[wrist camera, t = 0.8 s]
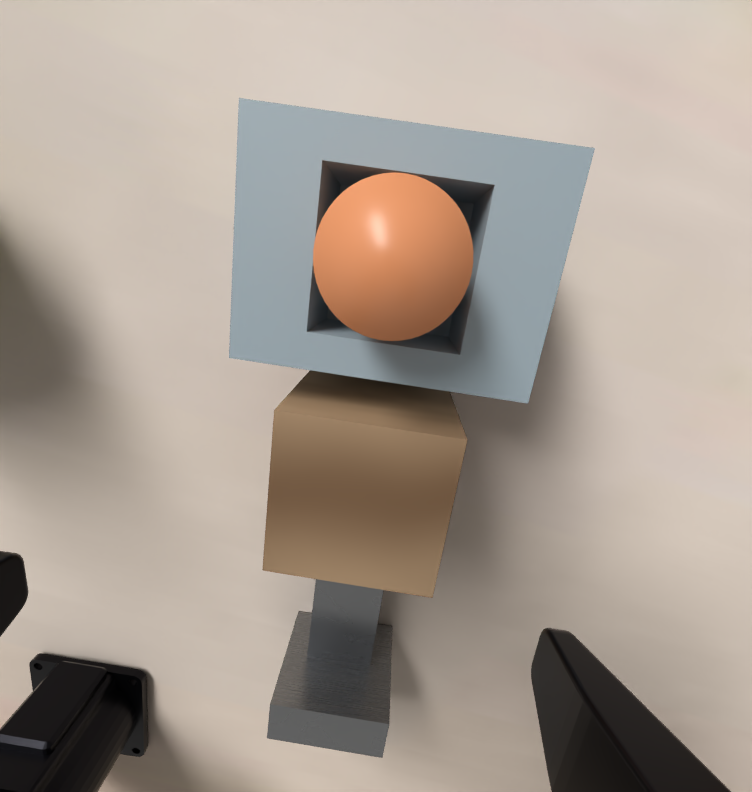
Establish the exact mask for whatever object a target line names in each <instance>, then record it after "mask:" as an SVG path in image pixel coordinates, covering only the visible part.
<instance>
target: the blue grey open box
mask: <svg viewBox="0 0 752 792" xmlns="http://www.w3.org/2000/svg"><path fill="white" fill-rule="evenodd" d="M594 150H595V148H590V147H583V146H576V145H569V144H561V143H554V142H547V141H540V140H533V139H526V138H519V137H512V136H505V135H498V134H491V133H484V132H476V131H469V130H462V129H455V128H448V127H441V126H434V125H427V124H420V123H413V122H406V121H399V120H391V119H384V118H377V117H370V116H363V115H356V114H349V113H342V112H335V111H328V110H321V109H314V108H306V107H299V106H292V105H285V104H278V103H271V102H264V101H257V100H250V99H243V98H239V110H238V137H237V163H236V189H235V216H234V242H233V268H232V295H231V321H230V347H229V358H233V359H240V360H246V361H253V362H259V363H266V364H272V365H279V366H286V367H292V368H299V369H305V370H312V371H318V372H325V373H331V374H338V375H344V376H351V377H357V378H364V379H371V380H377V381H384V382H390V383H397V384H403V385H410V386H416V387H423V388H429V389H436V390H443V391H449V392H456V393H462V394H469V395H475V396H482V397H488V398H495V399H501V400H508V401H514V402H521V403H528V402H529V398H530V394H531V391H532V387H533V383H534V379H535V375H536V371H537V368H538V364H539V360H540V356H541V352H542V348H543V345H544V341H545V337H546V333H547V329H548V326H549V322H550V318H551V314H552V310H553V306H554V303H555V299H556V295H557V291H558V287H559V283H560V280H561V276H562V272H563V268H564V264H565V261H566V257H567V253H568V249H569V245H570V241H571V238H572V234H573V230H574V226H575V222H576V218H577V215H578V211H579V207H580V203H581V199H582V196H583V192H584V188H585V184H586V180H587V176H588V173H589V169H590V165H591V161H592V157H593V153H594ZM382 173H406V174H411V175H415V176H418V177H421V178H424V179H426V180H428V181H430V182H432V183H434V184H435V185H437V186H438V187H440V188H441V189H442V190H443V191H445V192H446V193H447V194H448V195H449V196H450V197H451V198H452V199H453V200H454V202H455V203H456V204H457V206H458V207H459V208H460V210H461V212H462V214H463V215H464V217H465V219H466V222H467V224H468V227H469V229H470V233H471V237H472V243H473V268H472V274H471V278H470V282H469V285H468V288H467V290H466V292H465V295H464V296H463V298H462V300H461V302H460V304H459V305H458V306H457V308H456V309H455V310H454V312H453V313H452V314H451V315H450V316H449V317H448V318H447V319H446V320H445V321H444V322H443V323H441V324H440V325H439V326H438V327H436V328H434V329H433V330H431V331H430V332H428V333H425V334H423V335H421V336H418V337H415V338H412V339H407V340H402V341H383V340H377V339H373V338H369V337H366V336H364V335H361V334H359V333H357V332H355V331H353V330H352V329H350V328H349V327H347V326H346V325H345V324H343V323H342V322H341V321H340V320H339V319H338V318H337V317H336V316H335V315H334V314H333V313H332V311H331V310H330V309H329V307H328V306H327V304H326V303H325V301H324V299H323V297H322V295H321V293H320V291H319V288H318V285H317V283H316V278H315V274H314V266H313V248H314V242H315V237H316V234H317V230H318V227H319V225H320V222H321V220H322V218H323V216H324V214H325V213H326V211H327V209H328V208H329V207H330V205H331V204H332V203H333V201H334V200H335V199H336V198H337V197H338V196H339V195H340V194H341V193H342V192H343V191H345V190H346V189H347V188H349V187H350V186H351V185H353V184H355V183H357V182H358V181H360V180H362V179H365V178H367V177H370V176H373V175H378V174H382Z"/></svg>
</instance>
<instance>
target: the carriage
mask: <svg viewBox="0 0 752 792" xmlns="http://www.w3.org/2000/svg"><path fill="white" fill-rule="evenodd" d="M466 445H467V437H466V435H465V432H464V429H463V426H462V424H461V421H460V418H459V416H458V413H457V410H456V407H455V405H454V402H453V399H452V397H451V394H450V392H449V391H443V390H436V389H429V388H423V387H416V386H410V385H403V384H397V383H390V382H384V381H377V380H371V379H364V378H357V377H351V376H344V375H338V374H331V373H325V372H318V371H312V370H310V371H309V372H308V373H307V375H306V376H305V377H304V378H303V379H302V380H301V381H300V382H299V383H298V384H297V386H296V387H295V388H294V389H293V390H292V391H291V392H290V393H289V394H288V395H287V397H286V398H285V399H284V400H283V401H282V402H281V403H280V404H279V405H278V407H277V408H276V409H275V410H274V421H273V434H272V448H271V462H270V475H269V489H268V503H267V516H266V530H265V544H264V557H263V570H264V571H270V572H276V573H282V574H288V575H294V576H301V577H307V578H313V579H319V580H325V581H331V582H338V583H344V584H350V585H356V586H362V587H368V588H375V589H381V590H387V591H393V592H399V593H405V594H412V595H418V596H424V597H430V598H432V597H433V593H434V588H435V584H436V579H437V575H438V570H439V566H440V561H441V557H442V552H443V548H444V543H445V539H446V534H447V530H448V525H449V521H450V516H451V512H452V507H453V503H454V498H455V494H456V489H457V485H458V480H459V476H460V471H461V467H462V462H463V458H464V453H465V449H466Z"/></svg>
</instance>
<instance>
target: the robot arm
mask: <svg viewBox="0 0 752 792" xmlns="http://www.w3.org/2000/svg"><path fill="white" fill-rule="evenodd" d="M27 597H28V586H27V579H26V573H25V566H24V561H23V558H22V557H21V556H20V555H19V554H17V553H11V552H3V551H0V636H1V635H2V634H3V633H4V631H5V630H6V629H7V627H8V626H9V625H10V623H11V622H12V621H13V620H14V618H15V617H16V616H17V614H18V613H19V612H20V610H21V609H22V608H23V606H24V604H25V602H26V600H27ZM30 673H31V680H32V687H33V692H32V693H31V694H30V695H29V696H28V698H27V699H26V700H25V701H24V702H23V703H22V704H21V706H20V707H19V708H18V709H17V710H16V711H15V712H14V714H13V715H12V716H11V717H10V718H9V719H8V720H7V722H6V723H5V724H4V725H3V726H2V727H1V728H0V792H98V790H99V789H100V787H101V785H102V784H103V782H104V780H105V778H106V777H107V775H108V773H109V772H110V770H111V768H112V766H113V765H114V763H115V761H116V760H117V758H118V756H119V754H124V755H130V756H136V757H140V756H142V755H143V754H144V753H145V751H146V749H147V747H148V724H147V689H146V675H145V674H144V672H142V671H141V670H138V669H132V668H126V667H120V666H114V665H108V664H102V663H96V662H90V661H84V660H78V659H72V658H66V657H60V656H54V655H48V654H37V655H36V656H35V657H34V659H33V660H32V661H31V662H30ZM531 678H532V685H533V691H534V696H535V702H536V708H537V713H538V719H539V725H540V730H541V736H542V742H543V748H544V753H545V759H546V765H547V770H548V776H549V781H550V786H551V791H552V792H731V791H730V790H729V789H728V788H727V787H726V786H725V785H724V784H723V783H722V782H721V781H720V780H719V779H718V778H717V777H716V776H715V775H714V774H713V773H712V772H711V771H710V770H709V769H708V768H707V767H706V766H705V765H704V764H703V763H702V762H701V761H700V760H699V759H698V758H697V757H696V756H695V755H694V754H693V753H692V752H691V751H690V750H689V749H688V748H687V747H686V746H685V745H684V744H683V743H682V742H681V741H680V740H679V739H678V738H677V737H676V736H675V735H674V734H673V733H672V732H671V731H670V730H669V729H668V728H667V727H666V726H665V725H664V724H663V723H662V722H661V721H660V720H658V719H657V718H656V717H655V716H654V715H653V714H652V713H651V712H650V711H649V710H648V709H647V708H646V707H645V706H644V705H643V704H642V703H641V702H640V701H639V700H638V699H637V698H636V697H635V696H634V695H633V694H632V693H631V692H630V691H629V690H628V689H627V688H626V687H625V686H624V685H623V684H622V683H621V682H620V681H619V680H618V679H617V678H616V677H615V676H614V675H613V674H612V673H611V672H610V671H609V670H608V669H607V668H606V667H605V666H604V665H603V664H602V663H601V662H600V661H599V660H598V659H597V658H596V657H595V656H594V655H593V654H592V653H591V652H590V651H589V650H588V649H587V648H586V647H585V646H584V645H583V644H582V643H581V642H580V641H579V640H578V639H577V638H576V637H575V636H574V635H573V634H572V633H570V632H568V631H566V630H559V629H552V628H546V629H544V630H543V631H542V633H541V635H540V638H539V642H538V645H537V648H536V652H535V655H534V659H533V662H532V668H531Z"/></svg>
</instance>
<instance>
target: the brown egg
mask: <svg viewBox="0 0 752 792" xmlns="http://www.w3.org/2000/svg"><path fill="white" fill-rule="evenodd" d="M313 266H314V274H315V278H316V283H317V285H318V288H319V291H320V293H321V295H322V297H323V299H324V301H325V303H326V304H327V306H328V307H329V309H330V310H331V311H332V313H333V314H334V315H335V316H336V317H337V318H338V319H339V320H340V321H341V322H342V323H343V324H345V325H346V326H347V327H349V328H350V329H352V330H353V331H355V332H357V333H359V334H361V335H364V336H366V337H369V338H373V339H377V340H383V341H402V340H407V339H412V338H415V337H418V336H421V335H423V334H425V333H428V332H430V331H431V330H433V329H434V328H436V327H438V326H439V325H440V324H441V323H443V322H444V321H445V320H446V319H447V318H448V317H449V316H450V315H451V314H452V313H453V312H454V310H455V309H456V308H457V306H458V305H459V304H460V302H461V300H462V298H463V296H464V295H465V292H466V290H467V288H468V285H469V282H470V278H471V274H472V268H473V243H472V237H471V233H470V229H469V227H468V224H467V222H466V219H465V217H464V215H463V214H462V212H461V210H460V208H459V207H458V206H457V204H456V203H455V202H454V200H453V199H452V198H451V197H450V196H449V195H448V194H447V193H446V192H445V191H443V190H442V189H441V188H440V187H438V186H437V185H435V184H434V183H432V182H430V181H428V180H426V179H424V178H421V177H418V176H415V175H411V174H406V173H382V174H378V175H373V176H370V177H367V178H365V179H362V180H360V181H358V182H357V183H355V184H353V185H351V186H350V187H349V188H347V189H346V190H345V191H343V192H342V193H341V194H340V195H339V196H338V197H337V198H336V199H335V200H334V201H333V203H332V204H331V205H330V207H329V208H328V209H327V211H326V213H325V214H324V216H323V218H322V220H321V222H320V225H319V227H318V230H317V234H316V237H315V242H314V248H313Z"/></svg>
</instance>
